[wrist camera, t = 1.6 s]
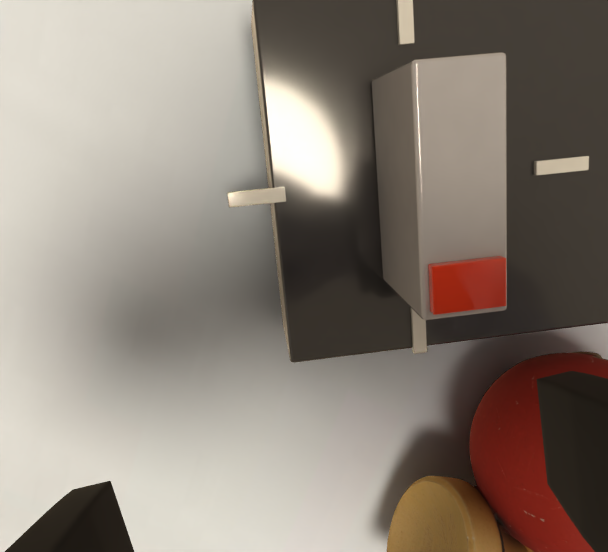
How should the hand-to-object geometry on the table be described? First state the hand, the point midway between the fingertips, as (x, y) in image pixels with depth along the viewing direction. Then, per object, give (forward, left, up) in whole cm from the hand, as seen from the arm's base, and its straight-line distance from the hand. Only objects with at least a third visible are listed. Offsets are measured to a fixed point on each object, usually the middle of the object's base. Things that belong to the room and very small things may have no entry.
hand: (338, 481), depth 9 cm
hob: (-5, -4, -9) cm, 11 cm away
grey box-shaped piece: (-3, -4, -6) cm, 8 cm away
